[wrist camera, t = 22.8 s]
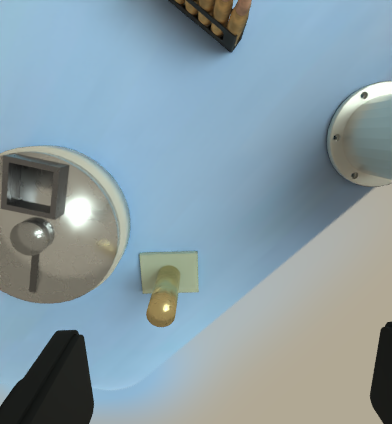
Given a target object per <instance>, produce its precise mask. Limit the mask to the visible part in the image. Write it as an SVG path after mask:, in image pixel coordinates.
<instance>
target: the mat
mask: <svg viewBox="0 0 392 424" xmlns="http://www.w3.org/2000/svg"><path fill="white" fill-rule="evenodd" d="M167 265H171V266H174V267H176V268H177V269H178V270H179V272H180V284H179V291H178V293H185V292H198V255H197V251H182V252H145V253H140V267H141V279H142V291H143V294H147V293H152V292H153V288H154V285H155V282H156V278H157V275H158V272H159V270H160V269H161V268H162V267H164V266H167Z"/></svg>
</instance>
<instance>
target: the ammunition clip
mask: <svg viewBox="0 0 392 424" xmlns="http://www.w3.org/2000/svg"><path fill="white" fill-rule="evenodd" d="M169 1H170V2H171V3H172V4H173V5H175V6H176V7H177V8H178V9H179V10H181V11H182V12H183V13H184V14H185V15H187V16H188V17H189V18H190V19H191V20H193V21H194V22H195V23H196V24H197V25H199V26H200V27H201V28H202V29H203V30H205V31H206V32H207V33H208V34H209V35H211V36H212V37H213V38H214V39H215V40H216V41H218V42H219V43H220V44H221V45H222V46H224V47H225V48H226V49H227V50H228V51H230V52H233V50H234V49H235V47H236V46H237V44H238V43H239V41H240V40H241V38H242V35H243V32H244V29H245V26H246V23H247V19H248V15H249V9H250V7H251V1H252V0H238V2H237V4H236V6H235V7H234V8H233V9H232V6H233V0H169ZM230 14H231V15H230ZM229 16H230V18H229ZM228 20H229V21H228Z"/></svg>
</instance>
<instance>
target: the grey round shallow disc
mask: <svg viewBox="0 0 392 424" xmlns="http://www.w3.org/2000/svg"><path fill="white" fill-rule="evenodd" d="M119 245H120V223H119V218H118V214H117V211H116V208H115V206H114V204H113V202H112V199H111V197H110V196H109V194H108V193H107V191H106V190H105V188H104V187H103V186H102V185H101V183H100V182H99V181H98V180H97V179H96V178H95V177H94V176H93V175H92V174H91V173H90V172H88V171H87V170H86V169H84V168H83V167H82V166H80V165H78V164H76V163H75V162H73V161H71V160H69V159H66V158H64V157H62V156H59V155H55V154H52V153H46V152H39V151H26V152H18V153H10V154H6V155H2V156H0V290H1V291H3V292H5V293H7V294H9V295H11V296H13V297H16V298H19V299H21V300H25V301H29V302H35V303H61V302H65V301H70V300H73V299H75V298H78V297H80V296H82V295H84V294H86V293H88V292H89V291H91V290H92V289H93V288H95V287H96V286H97V285H98V284H99V283H100V282H101V281H102V280H103V278H104V277H105V276H106V275H107V273H108V271H109V270H110V268H111V266H112V265H113V263H114V261H115V258H116V256H117V253H118V249H119Z"/></svg>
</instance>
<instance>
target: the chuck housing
mask: <svg viewBox="0 0 392 424" xmlns="http://www.w3.org/2000/svg"><path fill="white" fill-rule="evenodd" d="M26 151H39V152H46V153H52V154H55V155H59V156H62V157H64V158H66V159H69V160H71V161H73V162H75V163H76V164H78V165H80V166H82V167H83V168H84V169H86V170H87V171H88V172H90V173H91V174H92V175H93V176H94V177H95V178H96V179H97V180H98V181H99V182H100V183H101V185H102V186H103V187H104V188H105V190H106V191H107V193H108V194H109V196H110V197H111V199H112V202H113V204H114V206H115V208H116V211H117V214H118V218H119V223H120V245H119V249H118V253H117V256H116V258H115V261H114V263H113V265H112V266H111V268H110V270H109V271H108V273H107V275H106V276H105V277H104V278H103V280H102V281H101V282H100V283H99V284H98V285H97V286H99V285H100V284H102V283H103V282H104V281H105V280H106V279H107V278H108V277H109V276H110V274H111V273H112V272H113V271H114V269H115V267H116V266H117V264H118V262H119V261H120V259H121V257H122V255H123V254H124V252H125V249H126V247H127V244H128V240H129V237H130V228H131V227H130V214H129V208H128V205H127V202H126V199H125V197H124V194H123V192H122V190H121V189H120V187H119V185H118V184H117V182H116V181H115V180H114V178H113V177H112V176H111V175H110V174H109V173H108V172H107V171H106V170H105V169H104V168H103V167H102V166H101V165H100V164H98V163H97V162H96V161H95V160H93V159H91V158H90V157H88V156H86V155H84V154H82V153H80V152H77V151H75V150H72V149H68V148H65V147H59V146H46V145H44V146H32V147H22V148H16V149H12V150H8V151H5V152H3V153H0V156H2V155H6V154H10V153H18V152H26ZM97 286H96V287H97ZM96 287H95V288H96ZM95 288H93V289H95ZM93 289H92V290H93Z"/></svg>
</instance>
